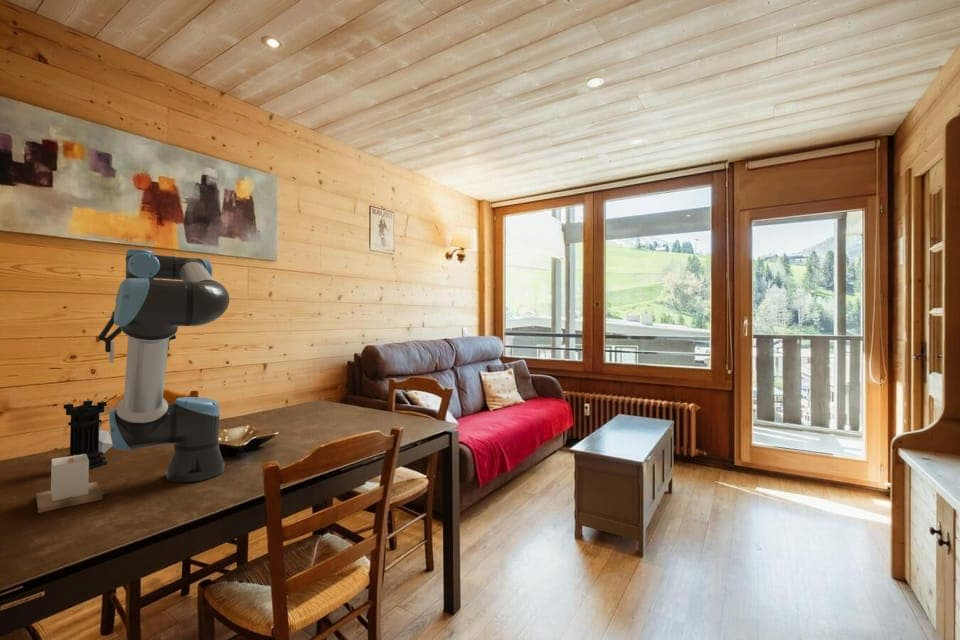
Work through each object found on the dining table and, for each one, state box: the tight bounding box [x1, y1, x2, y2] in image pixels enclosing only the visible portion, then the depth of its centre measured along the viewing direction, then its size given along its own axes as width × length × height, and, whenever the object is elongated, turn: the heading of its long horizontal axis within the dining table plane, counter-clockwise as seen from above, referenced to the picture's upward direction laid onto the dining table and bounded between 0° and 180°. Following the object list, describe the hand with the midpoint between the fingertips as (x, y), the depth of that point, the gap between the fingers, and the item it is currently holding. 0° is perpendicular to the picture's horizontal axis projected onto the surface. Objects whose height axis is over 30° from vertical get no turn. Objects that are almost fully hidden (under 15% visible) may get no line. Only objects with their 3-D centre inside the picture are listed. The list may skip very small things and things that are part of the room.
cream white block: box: [50, 454, 90, 501], centre depth 117 cm, size 7×7×10 cm
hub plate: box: [35, 481, 103, 514], centre depth 116 cm, size 12×12×1 cm
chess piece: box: [63, 399, 108, 471], centre depth 139 cm, size 8×8×20 cm
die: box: [99, 429, 113, 455], centre depth 150 cm, size 8×9×10 cm
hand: (138, 361), depth 146 cm, fingers open, 13 cm apart
